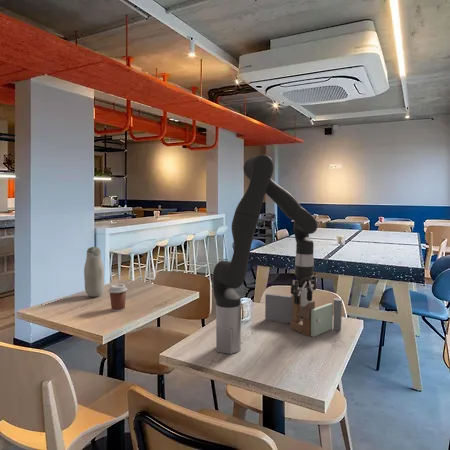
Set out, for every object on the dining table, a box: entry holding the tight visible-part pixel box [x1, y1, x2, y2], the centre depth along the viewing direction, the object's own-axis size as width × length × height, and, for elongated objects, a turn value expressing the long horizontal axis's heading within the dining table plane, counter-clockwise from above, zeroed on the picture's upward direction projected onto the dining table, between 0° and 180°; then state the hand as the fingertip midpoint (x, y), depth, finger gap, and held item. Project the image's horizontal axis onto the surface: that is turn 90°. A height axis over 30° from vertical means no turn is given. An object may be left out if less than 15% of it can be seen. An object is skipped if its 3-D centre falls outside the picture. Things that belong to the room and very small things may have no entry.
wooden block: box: [289, 289, 316, 337], centre depth 162 cm, size 4×11×18 cm, turn 35°
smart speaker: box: [301, 288, 313, 310], centre depth 184 cm, size 10×9×14 cm
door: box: [311, 302, 334, 338], centre depth 161 cm, size 3×14×11 cm, turn 132°
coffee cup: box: [107, 283, 128, 312], centre depth 193 cm, size 9×9×12 cm
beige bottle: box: [83, 246, 105, 298], centre depth 215 cm, size 10×10×28 cm
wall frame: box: [264, 293, 343, 331], centre depth 171 cm, size 3×33×13 cm, turn 67°
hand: (303, 302), depth 162 cm, fingers open, 8 cm apart
